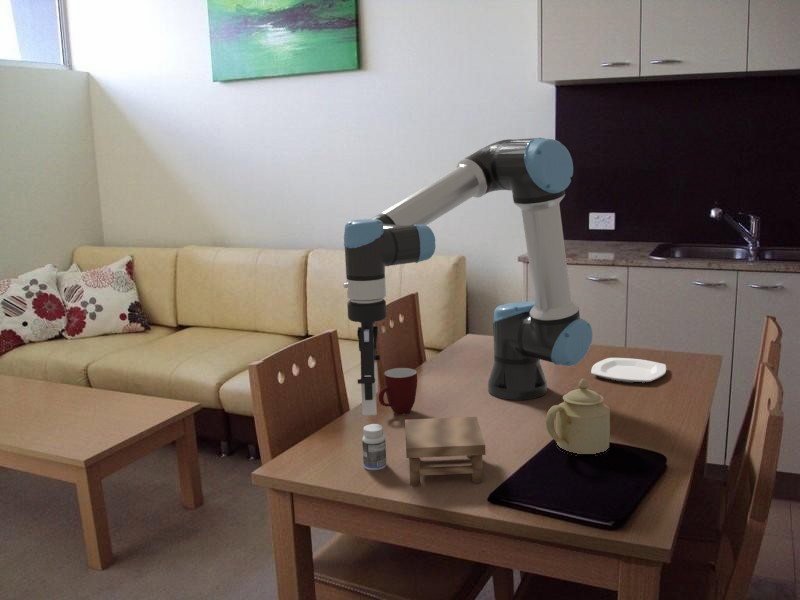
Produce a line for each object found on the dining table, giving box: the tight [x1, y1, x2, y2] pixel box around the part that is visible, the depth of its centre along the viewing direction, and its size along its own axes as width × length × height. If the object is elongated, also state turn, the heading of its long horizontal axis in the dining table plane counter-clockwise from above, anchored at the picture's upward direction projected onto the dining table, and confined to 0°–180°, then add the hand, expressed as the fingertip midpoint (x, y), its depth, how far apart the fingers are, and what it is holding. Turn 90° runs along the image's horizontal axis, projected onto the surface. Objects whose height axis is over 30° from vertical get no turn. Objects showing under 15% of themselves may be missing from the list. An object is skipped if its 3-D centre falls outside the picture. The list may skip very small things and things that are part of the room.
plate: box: [590, 357, 667, 384], centre depth 208 cm, size 19×19×2 cm
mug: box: [378, 367, 418, 416], centre depth 185 cm, size 10×8×10 cm
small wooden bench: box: [404, 416, 487, 487], centre depth 153 cm, size 15×15×8 cm
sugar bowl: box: [545, 378, 611, 454], centre depth 159 cm, size 15×11×15 cm
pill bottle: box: [361, 423, 387, 471], centre depth 155 cm, size 5×5×8 cm
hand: (370, 403), depth 153 cm, fingers open, 13 cm apart
